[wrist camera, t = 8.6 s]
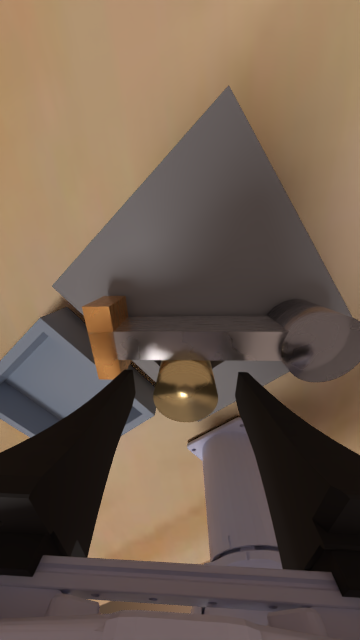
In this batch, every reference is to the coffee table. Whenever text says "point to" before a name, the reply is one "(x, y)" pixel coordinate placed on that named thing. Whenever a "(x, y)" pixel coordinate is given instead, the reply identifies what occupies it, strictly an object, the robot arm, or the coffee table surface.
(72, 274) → the crank plate
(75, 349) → the tray
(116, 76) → the coffee table surface
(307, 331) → the lever
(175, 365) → the pin
